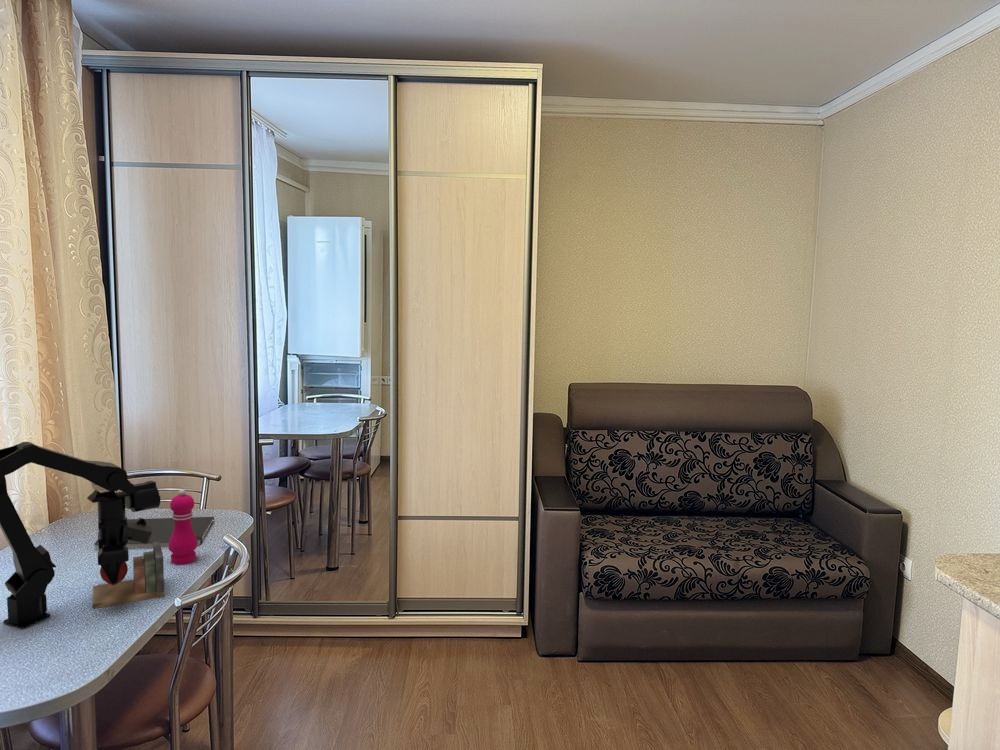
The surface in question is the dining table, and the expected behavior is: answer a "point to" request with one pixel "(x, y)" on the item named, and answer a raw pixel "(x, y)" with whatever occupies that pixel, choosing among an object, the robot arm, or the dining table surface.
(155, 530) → the notebook
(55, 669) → the dining table surface
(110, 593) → the book shelf
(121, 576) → the pomegranate
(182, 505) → the pepper mill
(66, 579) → the dining table surface
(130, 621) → the dining table surface
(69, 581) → the dining table surface
